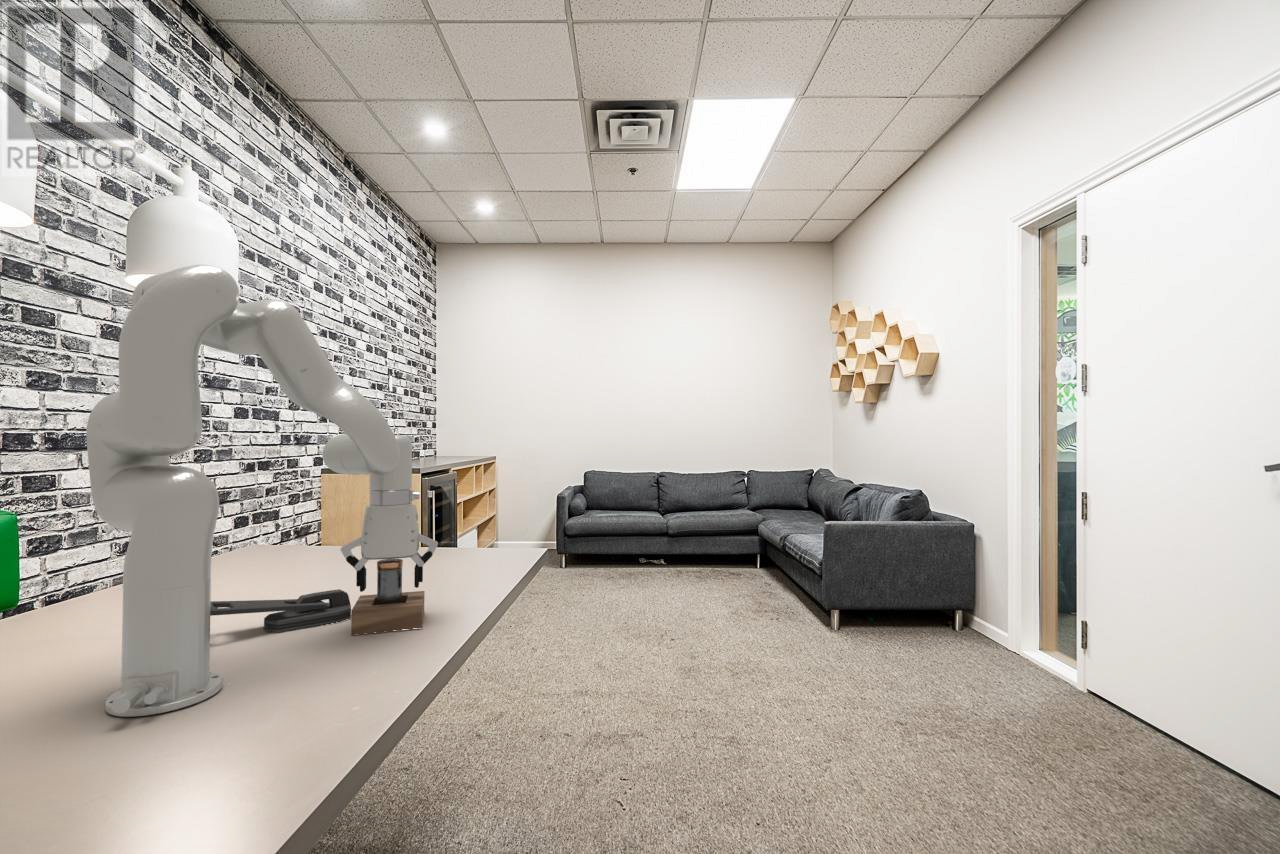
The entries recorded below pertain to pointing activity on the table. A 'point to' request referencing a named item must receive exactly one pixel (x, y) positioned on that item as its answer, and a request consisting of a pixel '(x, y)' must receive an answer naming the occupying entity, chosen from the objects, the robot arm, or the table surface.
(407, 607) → the socket block
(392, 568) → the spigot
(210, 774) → the table surface
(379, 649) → the table surface
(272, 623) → the zipper pull
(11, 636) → the table surface
